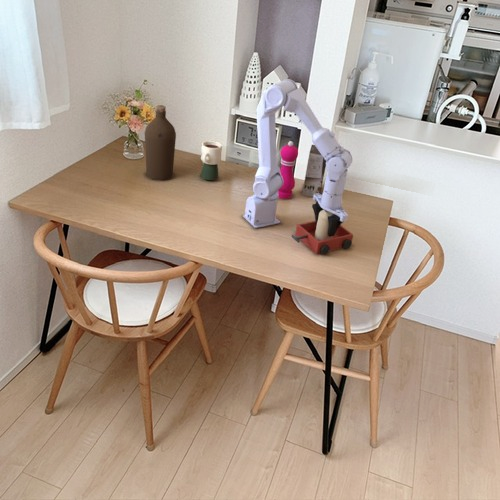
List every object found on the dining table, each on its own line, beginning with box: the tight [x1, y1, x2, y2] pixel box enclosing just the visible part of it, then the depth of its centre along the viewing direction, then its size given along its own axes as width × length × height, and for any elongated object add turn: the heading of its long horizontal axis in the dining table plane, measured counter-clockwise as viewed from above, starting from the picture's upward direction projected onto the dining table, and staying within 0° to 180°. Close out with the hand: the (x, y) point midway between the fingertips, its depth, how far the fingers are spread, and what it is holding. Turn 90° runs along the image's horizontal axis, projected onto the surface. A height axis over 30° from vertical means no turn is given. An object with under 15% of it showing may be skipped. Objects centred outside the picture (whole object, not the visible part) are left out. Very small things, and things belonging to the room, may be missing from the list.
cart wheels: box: [291, 234, 353, 255], centre depth 162 cm, size 17×13×3 cm
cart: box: [294, 220, 354, 255], centre depth 163 cm, size 13×11×4 cm
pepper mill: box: [278, 140, 299, 200], centre depth 183 cm, size 7×7×20 cm
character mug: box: [200, 140, 223, 181], centre depth 190 cm, size 11×7×13 cm, turn 158°
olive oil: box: [144, 104, 177, 181], centre depth 184 cm, size 11×11×25 cm
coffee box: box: [301, 144, 327, 198], centre depth 189 cm, size 9×6×16 cm
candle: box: [315, 210, 334, 241], centre depth 161 cm, size 6×6×10 cm
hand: (324, 230), depth 162 cm, fingers closed on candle, 5 cm apart
